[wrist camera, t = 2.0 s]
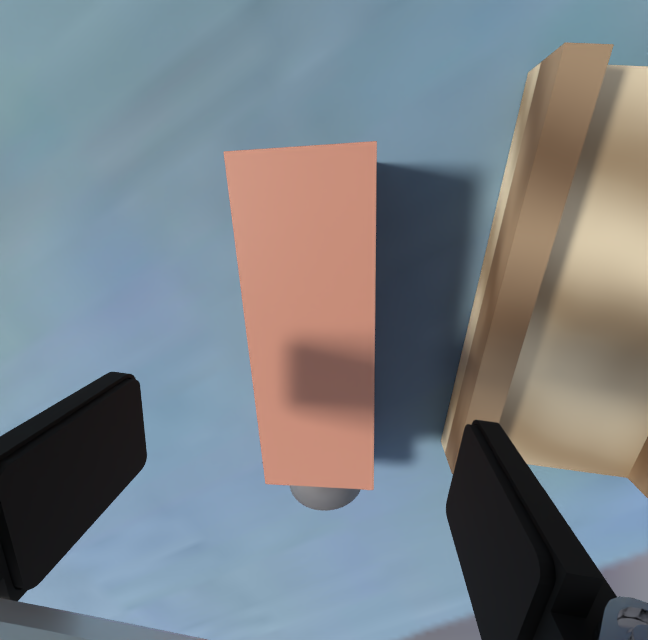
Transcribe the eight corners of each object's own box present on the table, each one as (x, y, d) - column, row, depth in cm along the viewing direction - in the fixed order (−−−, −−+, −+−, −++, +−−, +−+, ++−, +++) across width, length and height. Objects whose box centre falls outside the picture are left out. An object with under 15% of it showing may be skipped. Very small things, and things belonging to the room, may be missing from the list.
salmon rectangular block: (265, 168, 15) (223, 151, 11) (371, 162, 15) (376, 141, 10) (290, 445, 21) (269, 516, 16) (370, 449, 20) (373, 523, 15)
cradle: (528, 72, 13) (565, 42, 11) (834, 86, 12) (948, 57, 10) (440, 440, 19) (452, 473, 17) (642, 467, 18) (684, 506, 16)
